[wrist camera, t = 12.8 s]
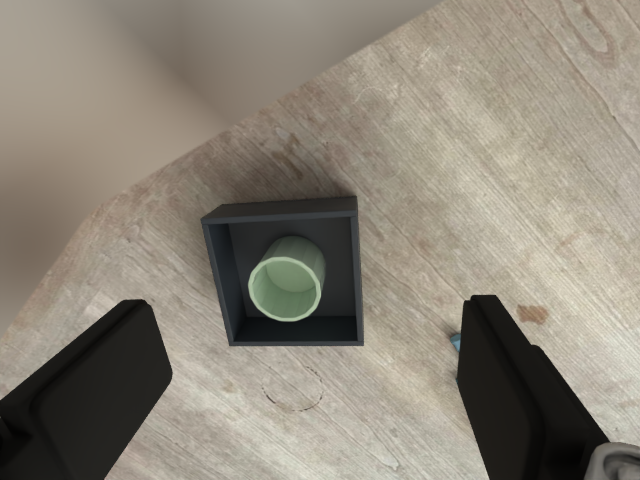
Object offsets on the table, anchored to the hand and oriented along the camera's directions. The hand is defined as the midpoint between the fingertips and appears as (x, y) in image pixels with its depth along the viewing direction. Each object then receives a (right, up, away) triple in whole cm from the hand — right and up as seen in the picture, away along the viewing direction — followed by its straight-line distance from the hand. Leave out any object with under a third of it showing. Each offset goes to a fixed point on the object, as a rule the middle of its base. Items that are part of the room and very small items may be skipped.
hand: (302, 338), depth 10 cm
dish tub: (-2, 0, +26) cm, 27 cm away
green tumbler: (-2, 0, +26) cm, 26 cm away
